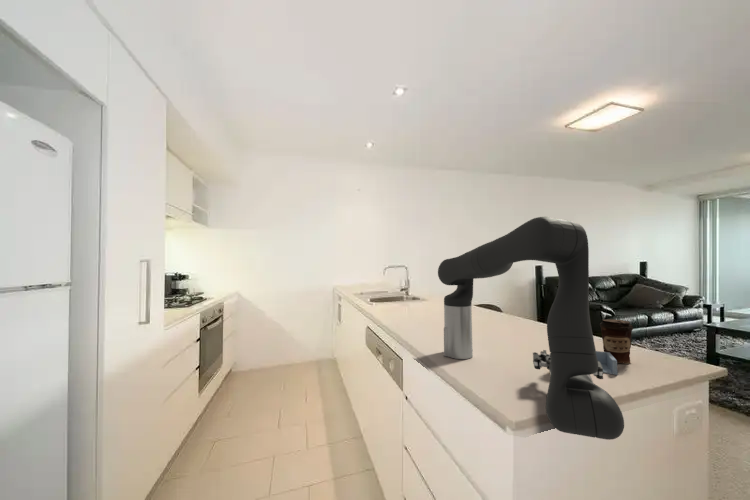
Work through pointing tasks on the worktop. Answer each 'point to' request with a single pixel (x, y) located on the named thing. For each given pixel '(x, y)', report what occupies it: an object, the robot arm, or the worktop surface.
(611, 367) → the grey-blue square open box
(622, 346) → the coffee cup
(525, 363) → the worktop surface
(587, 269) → the robot arm
